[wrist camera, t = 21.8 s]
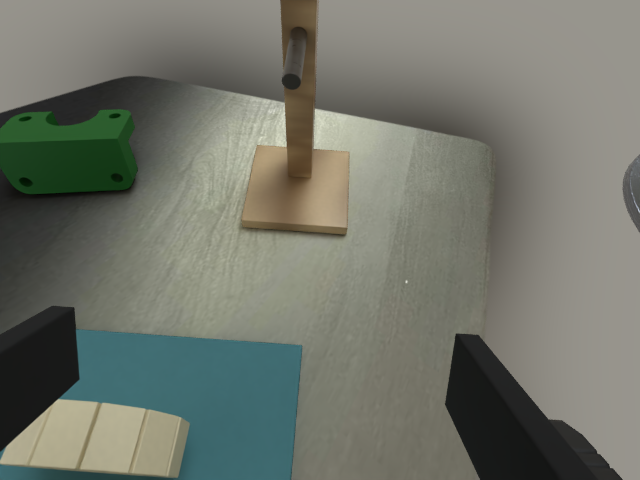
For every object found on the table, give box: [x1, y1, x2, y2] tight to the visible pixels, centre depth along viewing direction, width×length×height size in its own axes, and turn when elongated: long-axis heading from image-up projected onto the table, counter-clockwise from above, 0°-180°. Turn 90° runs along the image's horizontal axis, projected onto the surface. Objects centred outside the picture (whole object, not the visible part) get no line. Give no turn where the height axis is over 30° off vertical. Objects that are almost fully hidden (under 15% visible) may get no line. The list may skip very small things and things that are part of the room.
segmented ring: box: [0, 399, 190, 478], centre depth 23 cm, size 9×3×9 cm, turn 87°
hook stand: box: [241, 0, 349, 234], centre depth 32 cm, size 10×10×21 cm
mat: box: [0, 329, 302, 480], centre depth 27 cm, size 22×16×1 cm
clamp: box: [0, 110, 138, 194], centre depth 39 cm, size 12×6×9 cm, turn 90°
